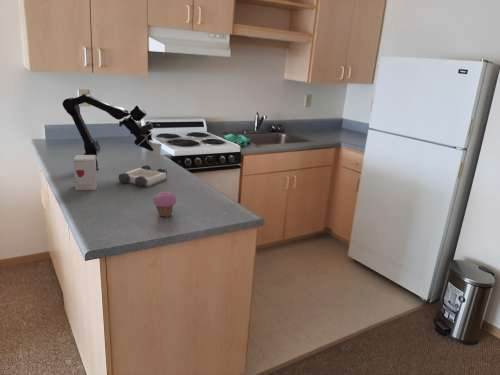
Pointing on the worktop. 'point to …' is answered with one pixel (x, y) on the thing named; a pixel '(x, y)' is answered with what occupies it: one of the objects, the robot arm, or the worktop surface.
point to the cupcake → (164, 203)
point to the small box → (154, 151)
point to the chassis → (143, 176)
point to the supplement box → (85, 172)
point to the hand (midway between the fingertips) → (154, 148)
